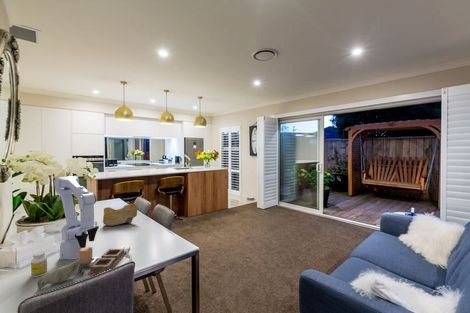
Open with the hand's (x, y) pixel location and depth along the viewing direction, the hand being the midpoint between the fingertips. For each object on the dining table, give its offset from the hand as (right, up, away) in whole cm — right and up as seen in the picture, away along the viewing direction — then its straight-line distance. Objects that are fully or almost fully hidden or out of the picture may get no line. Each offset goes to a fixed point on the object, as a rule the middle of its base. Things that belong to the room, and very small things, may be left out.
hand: (87, 244), depth 110 cm
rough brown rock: (-15, -8, +61) cm, 64 cm away
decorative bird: (-2, -11, -14) cm, 18 cm away
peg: (-1, -10, 0) cm, 10 cm away
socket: (-1, -10, 0) cm, 10 cm away
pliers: (+13, -11, +11) cm, 20 cm away
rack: (+9, -11, +2) cm, 14 cm away
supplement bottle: (-16, -10, -9) cm, 21 cm away
